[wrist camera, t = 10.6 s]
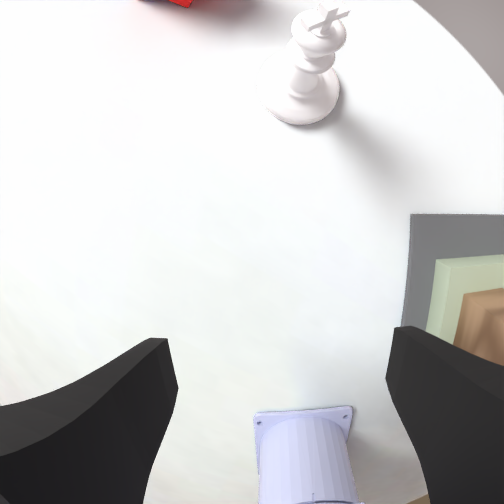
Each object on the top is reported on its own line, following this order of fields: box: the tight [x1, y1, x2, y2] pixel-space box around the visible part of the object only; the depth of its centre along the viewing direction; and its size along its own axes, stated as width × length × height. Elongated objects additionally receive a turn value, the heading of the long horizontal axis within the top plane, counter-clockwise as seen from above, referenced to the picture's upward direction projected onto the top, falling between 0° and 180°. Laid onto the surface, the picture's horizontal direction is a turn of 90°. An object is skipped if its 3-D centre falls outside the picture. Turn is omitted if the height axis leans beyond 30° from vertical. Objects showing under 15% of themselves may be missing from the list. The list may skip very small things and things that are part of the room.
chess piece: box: [257, 0, 350, 125], centre depth 11 cm, size 5×5×10 cm
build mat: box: [388, 214, 504, 390], centre depth 19 cm, size 14×11×1 cm
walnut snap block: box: [453, 288, 504, 366], centre depth 14 cm, size 4×4×6 cm
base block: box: [426, 254, 504, 345], centre depth 18 cm, size 8×7×2 cm
